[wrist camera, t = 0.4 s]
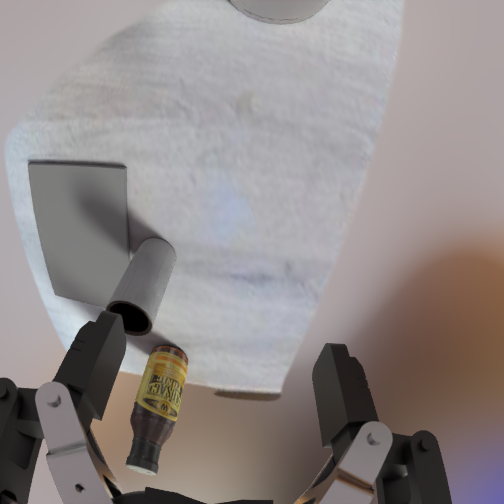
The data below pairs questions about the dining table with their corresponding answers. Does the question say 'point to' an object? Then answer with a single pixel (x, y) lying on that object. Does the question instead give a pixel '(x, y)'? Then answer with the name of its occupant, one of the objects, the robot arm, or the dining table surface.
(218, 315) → the dining table surface
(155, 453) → the sauce bottle
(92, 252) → the mat
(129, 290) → the grey hollow cylinder
